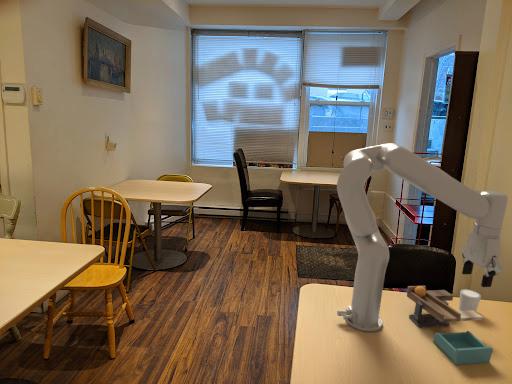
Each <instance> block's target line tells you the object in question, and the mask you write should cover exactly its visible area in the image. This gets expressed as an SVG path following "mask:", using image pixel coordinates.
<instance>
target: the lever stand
mask: <svg viewBox="0 0 512 384" xmlns="http://www.w3.org/2000/svg"><path fill="white" fill-rule="evenodd" d="M441 301H442V302H444V303H445V304H447V305H448V306H450V305H449V302H447V301H445V300H441ZM423 310H424V309H423V304H422V303H421V302H420V301H416V303H415V307H414V313H413V314H409V316H408V318H409V319H410V320H411V321H412V322H413V323H414V324H415V325H416V326H417V328H432V327H449V326H450V325H451V323H450V322H440V321H439V320H437V319H436V318H435V317H433V316H432V315H431V314H429V313H423ZM422 313H423V314H422Z"/></svg>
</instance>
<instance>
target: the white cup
mask: <svg viewBox="0 0 512 384" xmlns="http://www.w3.org/2000/svg"><path fill="white" fill-rule="evenodd" d="M481 298H482V295H481V294H480V293H479V292H476V291H475V290H472V289H465V288H464V289H463V288H462V289H461V290H460V292H459V302H458V309H459V311H466V310H473V311H475V312H476V313H477V310H478V307H479V304H480V302H481Z"/></svg>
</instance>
